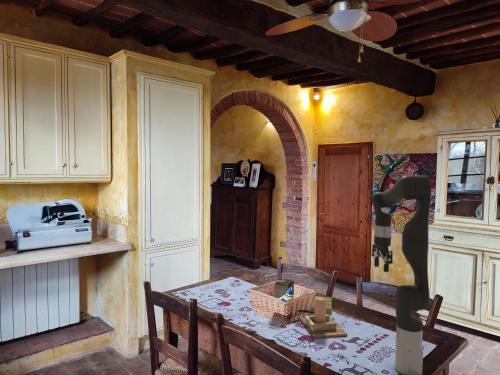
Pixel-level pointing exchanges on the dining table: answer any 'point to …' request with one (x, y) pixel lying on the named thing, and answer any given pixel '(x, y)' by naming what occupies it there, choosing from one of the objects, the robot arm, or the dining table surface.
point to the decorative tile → (328, 305)
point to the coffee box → (283, 287)
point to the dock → (323, 327)
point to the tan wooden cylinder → (320, 310)
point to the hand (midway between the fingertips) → (381, 269)
